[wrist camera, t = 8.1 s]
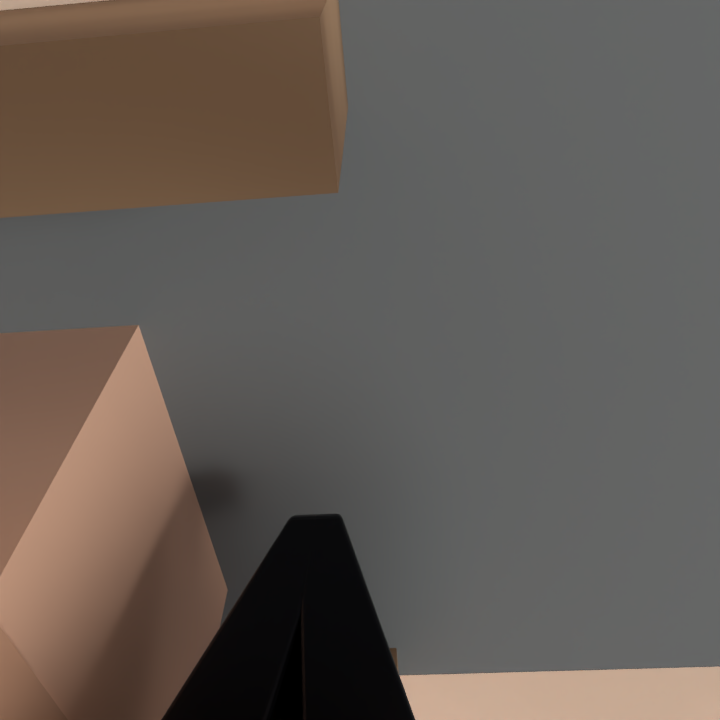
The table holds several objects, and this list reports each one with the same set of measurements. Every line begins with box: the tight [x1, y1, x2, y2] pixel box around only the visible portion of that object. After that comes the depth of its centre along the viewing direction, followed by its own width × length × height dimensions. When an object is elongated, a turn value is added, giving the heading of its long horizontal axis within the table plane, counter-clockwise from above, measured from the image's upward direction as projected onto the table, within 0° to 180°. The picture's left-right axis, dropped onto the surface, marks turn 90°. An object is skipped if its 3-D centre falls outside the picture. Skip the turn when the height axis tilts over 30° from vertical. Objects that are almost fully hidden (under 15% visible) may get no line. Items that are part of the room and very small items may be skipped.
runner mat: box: [0, 0, 720, 675], centre depth 10 cm, size 13×32×1 cm, turn 95°
